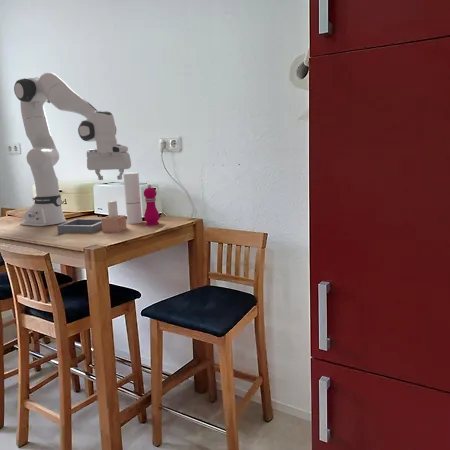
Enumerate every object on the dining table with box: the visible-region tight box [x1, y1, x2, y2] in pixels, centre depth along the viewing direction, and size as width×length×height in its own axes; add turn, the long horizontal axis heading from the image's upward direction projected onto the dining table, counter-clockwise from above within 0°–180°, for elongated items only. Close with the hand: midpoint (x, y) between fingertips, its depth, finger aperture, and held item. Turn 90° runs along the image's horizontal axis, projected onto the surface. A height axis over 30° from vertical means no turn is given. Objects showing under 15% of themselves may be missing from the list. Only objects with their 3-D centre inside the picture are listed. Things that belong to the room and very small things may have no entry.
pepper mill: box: [143, 184, 160, 227], centre depth 224 cm, size 7×7×20 cm
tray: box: [56, 218, 102, 235], centre depth 222 cm, size 18×16×4 cm
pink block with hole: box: [100, 214, 128, 233], centre depth 216 cm, size 8×8×7 cm
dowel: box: [107, 200, 119, 218], centre depth 215 cm, size 4×4×13 cm
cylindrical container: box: [122, 171, 143, 225], centre depth 230 cm, size 7×7×25 cm
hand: (110, 179), depth 212 cm, fingers open, 8 cm apart
